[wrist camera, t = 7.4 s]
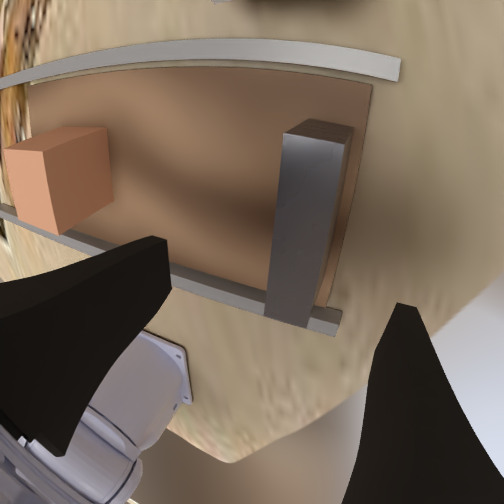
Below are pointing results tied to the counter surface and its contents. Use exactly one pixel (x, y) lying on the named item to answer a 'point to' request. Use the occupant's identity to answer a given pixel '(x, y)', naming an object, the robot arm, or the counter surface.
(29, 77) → the lane rails
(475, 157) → the counter surface
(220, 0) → the die
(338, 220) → the large flat tan board
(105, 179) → the cube
